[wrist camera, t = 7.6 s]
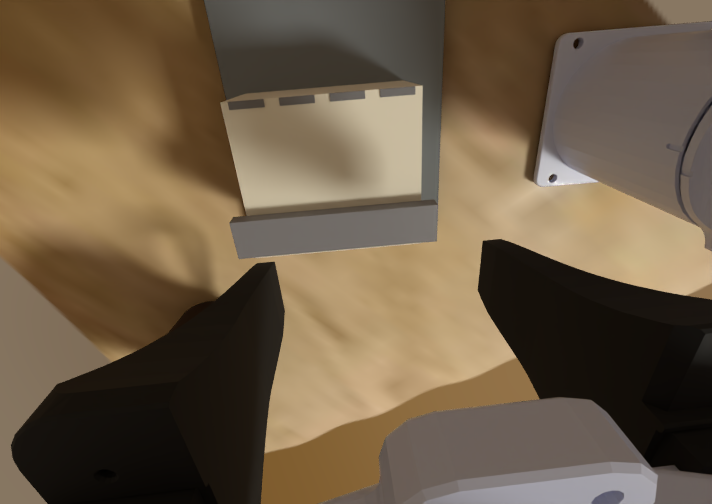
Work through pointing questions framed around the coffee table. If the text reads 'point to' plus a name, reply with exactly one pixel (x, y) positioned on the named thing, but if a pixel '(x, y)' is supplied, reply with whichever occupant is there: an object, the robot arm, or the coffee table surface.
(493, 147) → the coffee table surface
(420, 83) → the mat
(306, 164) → the pad
